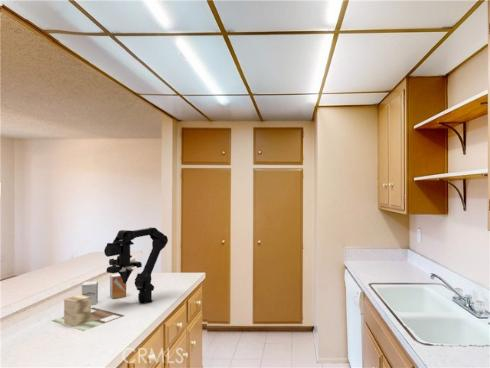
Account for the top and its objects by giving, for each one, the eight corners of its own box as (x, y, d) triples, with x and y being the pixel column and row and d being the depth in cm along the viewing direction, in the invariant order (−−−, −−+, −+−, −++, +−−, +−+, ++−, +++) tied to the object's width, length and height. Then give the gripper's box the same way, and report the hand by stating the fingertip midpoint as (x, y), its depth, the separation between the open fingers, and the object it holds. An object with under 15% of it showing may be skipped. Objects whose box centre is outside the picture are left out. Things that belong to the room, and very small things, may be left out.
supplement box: (81, 308, 183) (81, 284, 183) (83, 304, 190) (83, 281, 190) (96, 307, 185) (96, 283, 185) (98, 303, 192) (98, 280, 192)
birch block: (80, 317, 164) (80, 294, 165) (90, 320, 160) (90, 296, 161) (64, 323, 158) (64, 298, 158) (74, 326, 153) (74, 301, 154)
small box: (112, 299, 199) (112, 276, 199) (109, 296, 204) (109, 274, 205) (126, 297, 203) (126, 274, 204) (123, 294, 209) (123, 272, 209)
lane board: (93, 310, 180) (93, 307, 180) (125, 318, 167) (125, 315, 167) (51, 324, 161) (51, 320, 161) (83, 334, 148) (83, 331, 148)
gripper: (128, 250, 196) (128, 278, 195) (99, 255, 180) (99, 285, 179) (142, 251, 190) (142, 280, 189) (113, 257, 174) (113, 288, 173)
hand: (124, 283), depth 183 cm, fingers closed
